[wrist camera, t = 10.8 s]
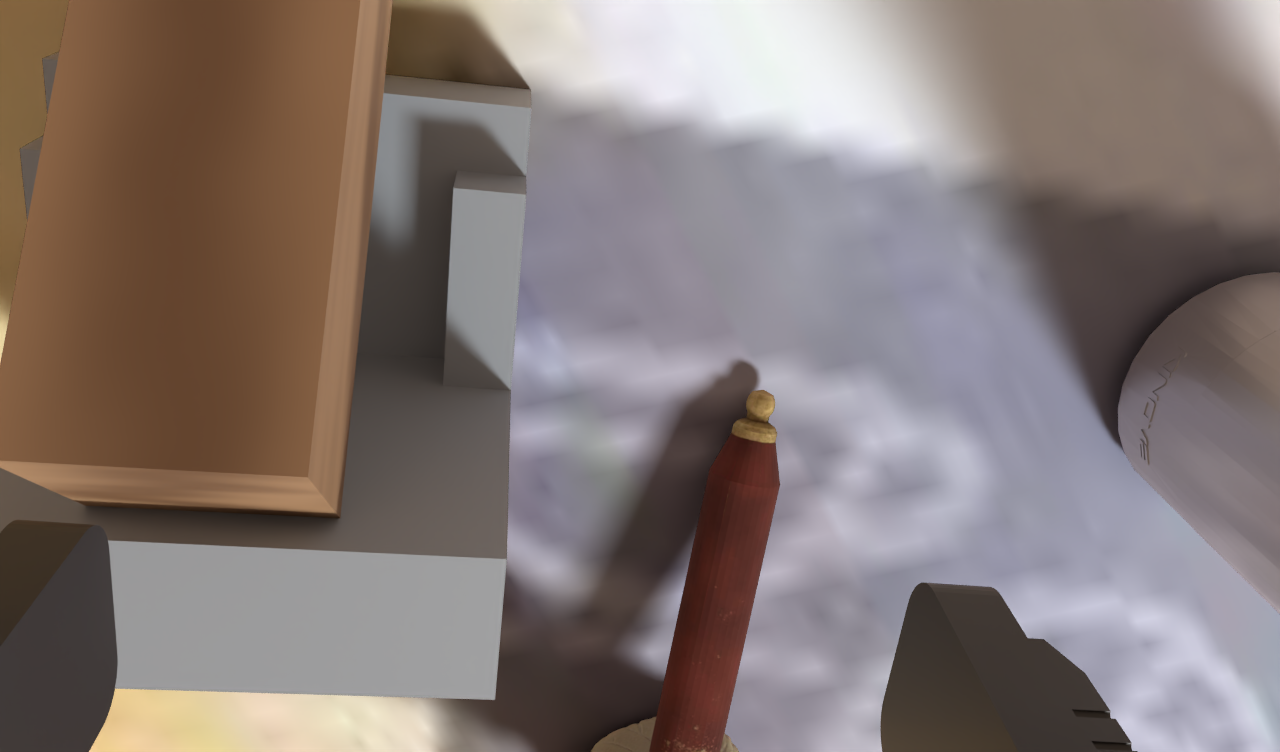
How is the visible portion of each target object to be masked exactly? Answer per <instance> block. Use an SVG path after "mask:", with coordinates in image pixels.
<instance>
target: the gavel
mask: <svg viewBox="0 0 1280 752" xmlns="http://www.w3.org/2000/svg"><path fill="white" fill-rule="evenodd" d="M746 408H747V417H746V418H742V419H738V420H737V421H736V422H735V423H734V424H733V428H732V432H731V434H730V436H729V437H728V439H727V441H726V442H725V444H724V446H723V447H722V449H721V451H720V452H719V454H718V456H717V457H716V459H715V461H714V463H713V464H712V466H711V468H710V469H709V474H708V479H707V483H706V488H705V493H704V497H703V502H702V507H701V511H700V516H699V521H698V525H697V530H696V534H695V539H694V544H693V548H692V553H691V558H690V562H689V567H688V572H687V576H686V581H685V586H684V590H683V595H682V600H681V604H680V609H679V614H678V618H677V623H676V628H675V632H674V637H673V642H672V646H671V651H670V656H669V660H668V665H667V670H666V674H665V679H664V684H663V688H662V693H661V698H660V702H659V707H658V712H657V716H656V721H655V726H654V730H653V735H652V739H651V744H650V749H649V752H720V750H721V745H722V741H723V736H724V732H725V728H726V723H727V719H728V714H729V710H730V705H731V701H732V696H733V692H734V687H735V683H736V678H737V674H738V670H739V665H740V661H741V656H742V652H743V647H744V643H745V638H746V634H747V629H748V625H749V620H750V616H751V611H752V607H753V603H754V598H755V594H756V589H757V585H758V580H759V576H760V571H761V567H762V562H763V558H764V553H765V549H766V545H767V540H768V536H769V531H770V527H771V522H772V518H773V513H774V509H775V504H776V500H777V495H778V491H779V487H780V481H779V471H778V462H777V453H776V444H775V441H776V436H777V432H776V429H775V428H774V427H773V426H772V425H771V424H770V423H768V420H769V416H770V415H771V414H772V413H773V411H774V408H775V399H774V396H773V395H772V394H770V393H768V392H766V391H765V390H758V391H752V392H751V394H750V395H749V396H748V398H747V402H746Z"/></svg>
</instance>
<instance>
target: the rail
mask: <svg viewBox="0 0 1280 752" xmlns="http://www.w3.org/2000/svg"><path fill="white" fill-rule="evenodd" d="M392 3H393V0H69V4H68V9H67V14H66V20H65V25H64V30H63V36H62V41H61V46H60V51H59V57H58V62H57V67H56V73H55V78H54V83H53V88H52V94H51V99H50V104H49V110H48V115H47V120H46V125H45V131H44V136H43V141H42V147H41V152H40V157H39V162H38V168H37V173H36V178H35V184H34V189H33V194H32V199H31V205H30V210H29V215H28V221H27V226H26V231H25V236H24V242H23V247H22V252H21V258H20V263H19V268H18V274H17V279H16V284H15V289H14V295H13V300H12V305H11V311H10V316H9V321H8V326H7V332H6V337H5V342H4V348H3V353H2V358H1V363H0V468H2V469H4V470H6V471H9V472H11V473H13V474H15V475H18V476H20V477H22V478H24V479H27V480H29V481H31V482H33V483H35V484H38V485H40V486H42V487H44V488H47V489H49V490H51V491H53V492H56V493H58V494H60V495H62V496H64V497H67V498H69V499H71V500H73V501H76V502H78V503H80V504H82V505H85V506H100V507H121V508H141V509H161V510H181V511H201V512H221V513H241V514H261V515H281V516H301V517H322V518H340V516H341V506H342V496H343V486H344V477H345V467H346V457H347V447H348V437H349V427H350V417H351V408H352V398H353V388H354V378H355V368H356V358H357V348H358V339H359V329H360V319H361V309H362V299H363V289H364V279H365V270H366V260H367V250H368V240H369V230H370V220H371V210H372V201H373V191H374V181H375V171H376V161H377V151H378V141H379V132H380V122H381V112H382V102H383V92H384V82H385V72H386V63H387V53H388V43H389V33H390V23H391V13H392Z"/></svg>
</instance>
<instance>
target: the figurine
mask: <svg viewBox="0 0 1280 752" xmlns="http://www.w3.org/2000/svg"><path fill="white" fill-rule="evenodd" d="M655 721H656V717H653V718H651V719H646V720H643V721H641V722H640V723H639V724H636V723H635V724H631V725H629V726H628V727H625V728H621V729H618V730H616V731H614V732H612V733H611V734H608V735H607V736H606V737H604V738H603V739H601V740H600V741H599V742H598V743H596V744H595V746H594V747H593V749H592V750H591V752H649V749H650V744H651V739H652V735H653V730H654V726H655ZM720 752H739V751H738V749H737V748H736V747H735V745H734V744H732V742H731V739H730V737H729V736H728V735H726V734H725V733H724V736H723V741H722V745H721V750H720Z"/></svg>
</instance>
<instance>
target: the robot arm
mask: <svg viewBox="0 0 1280 752" xmlns="http://www.w3.org/2000/svg"><path fill="white" fill-rule="evenodd" d="M1118 432H1119V436H1120V439H1121V443H1122V447H1123V450H1124V453H1125V455H1126V456H1127V458H1128V460H1129V461H1130V463H1131V465H1132V467H1133V468H1134V470H1135V471H1136V472H1137V473H1138V474H1139V475H1140V476H1141V477H1142V478H1143V479H1144V480H1145V481H1146V482H1147V483H1148V484H1149V485H1150V486H1151V487H1152V488H1153V489H1154V490H1155V491H1156V492H1157V493H1158V494H1159V495H1160V496H1161V497H1162V498H1163V499H1164V500H1165V501H1166V502H1167V503H1168V504H1169V505H1170V506H1171V507H1172V508H1173V509H1174V510H1175V511H1176V512H1177V513H1178V514H1179V515H1180V516H1181V517H1182V518H1183V519H1184V520H1185V521H1186V522H1187V523H1188V524H1189V525H1190V526H1191V527H1192V528H1193V529H1194V530H1195V531H1196V532H1197V533H1198V534H1199V535H1200V536H1201V537H1202V538H1203V539H1204V540H1205V541H1206V542H1207V543H1208V544H1209V545H1210V546H1211V547H1212V548H1213V549H1214V550H1215V551H1216V552H1217V553H1218V554H1219V555H1220V556H1221V557H1222V558H1223V559H1224V560H1225V561H1226V562H1227V563H1228V564H1229V565H1230V566H1231V567H1232V568H1233V569H1234V570H1235V571H1236V572H1237V573H1238V574H1239V575H1240V576H1241V577H1242V578H1243V579H1244V580H1245V581H1246V582H1248V583H1249V584H1250V585H1251V586H1252V587H1253V588H1254V589H1255V590H1256V591H1257V592H1258V593H1259V594H1260V595H1261V596H1262V597H1263V598H1264V599H1265V600H1266V601H1267V602H1268V603H1269V604H1270V605H1271V606H1272V607H1273V608H1274V609H1275V610H1276V611H1277V612H1278V613H1279V614H1280V273H1276V272H1271V273H1262V274H1253V275H1246V276H1242V277H1239V278H1236V279H1233V280H1230V281H1226V282H1223V283H1220V284H1218V285H1216V286H1214V287H1212V288H1210V289H1208V290H1206V291H1204V292H1202V293H1200V294H1198V295H1196V296H1194V297H1193V298H1191V299H1190V300H1189V301H1187V302H1186V303H1185V304H1183V305H1182V306H1181V307H1179V308H1178V309H1177V310H1175V311H1174V312H1173V313H1171V314H1170V315H1169V316H1168V317H1167V318H1166V319H1165V320H1164V321H1163V322H1162V323H1161V324H1160V325H1159V326H1158V327H1157V329H1156V330H1155V331H1154V332H1153V333H1152V334H1151V335H1150V336H1149V337H1148V339H1147V340H1146V342H1145V343H1144V345H1143V346H1142V348H1141V349H1140V351H1139V352H1138V354H1137V355H1136V357H1135V358H1134V360H1133V362H1132V364H1131V367H1130V369H1129V371H1128V374H1127V376H1126V378H1125V380H1124V383H1123V386H1122V391H1121V396H1120V401H1119V405H1118ZM117 666H118V656H117V642H116V629H115V616H114V603H113V591H112V578H111V565H110V552H109V543H108V539H107V536H106V533H105V531H104V529H103V528H102V527H101V526H99V525H90V524H75V523H60V522H46V521H31V520H14V521H12V522H11V523H9V524H8V525H7V526H6V527H5V528H4V529H3V530H2V531H1V532H0V752H89V750H90V749H91V747H92V745H93V743H94V741H95V739H96V738H97V736H98V734H99V732H100V730H101V729H102V727H103V725H104V723H105V720H106V718H107V715H108V713H109V710H110V707H111V703H112V699H113V695H114V690H115V685H116V678H117ZM881 744H882V751H883V752H1137V751H1132V749H1131V744H1132V743H1131V741H1130V740H1129V738H1128V737H1127V735H1126V734H1125V732H1124V731H1123V729H1122V728H1121V726H1120V725H1119V723H1118V722H1117V720H1116V719H1111V718H1110V710H1109V708H1108V707H1107V705H1106V704H1105V702H1104V701H1103V699H1102V698H1101V696H1100V695H1099V693H1098V692H1097V690H1096V689H1095V687H1094V686H1093V684H1092V683H1091V682H1090V680H1089V679H1088V677H1087V676H1086V674H1085V673H1084V672H1083V671H1082V670H1080V669H1079V668H1078V667H1077V666H1076V665H1074V664H1073V663H1072V662H1071V661H1069V660H1068V659H1067V658H1066V657H1065V656H1063V655H1062V654H1061V653H1060V652H1059V651H1057V650H1056V649H1055V648H1054V647H1052V646H1051V645H1050V644H1049V643H1048V642H1046V641H1045V640H1044V639H1030V638H1027V637H1026V635H1025V633H1024V632H1023V630H1022V629H1021V627H1020V625H1019V624H1018V622H1017V621H1016V619H1015V617H1014V616H1013V614H1012V612H1011V611H1010V609H1009V608H1008V606H1007V604H1006V603H1005V601H1004V600H1003V598H1002V596H1001V595H1000V594H999V592H998V591H997V590H995V589H994V588H992V587H982V586H967V585H952V584H937V583H920V584H918V585H917V586H916V587H915V589H914V590H913V592H912V594H911V597H910V599H909V603H908V606H907V610H906V614H905V618H904V622H903V626H902V630H901V634H900V638H899V641H898V645H897V649H896V653H895V657H894V661H893V665H892V669H891V673H890V677H889V681H888V685H887V688H886V692H885V696H884V701H883V705H882V713H881Z"/></svg>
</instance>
